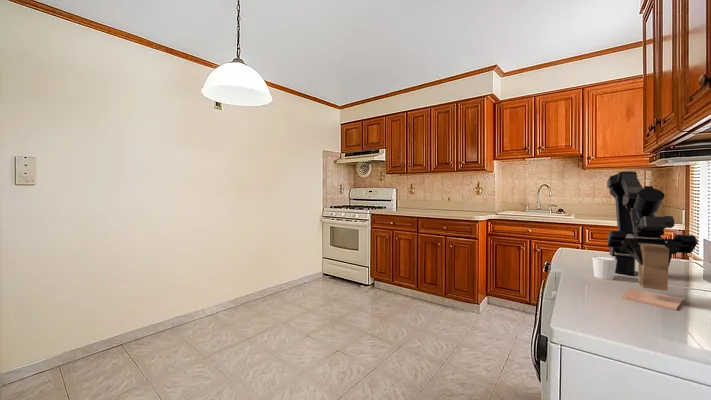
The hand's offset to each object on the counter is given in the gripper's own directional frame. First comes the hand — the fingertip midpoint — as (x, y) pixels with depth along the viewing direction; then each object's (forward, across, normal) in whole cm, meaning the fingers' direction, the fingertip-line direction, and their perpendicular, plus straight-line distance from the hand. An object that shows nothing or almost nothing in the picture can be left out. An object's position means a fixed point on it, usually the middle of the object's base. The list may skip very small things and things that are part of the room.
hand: (654, 265), depth 84 cm
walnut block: (+4, 0, +6) cm, 7 cm away
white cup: (-8, -8, +23) cm, 25 cm away
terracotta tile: (+6, 0, +8) cm, 10 cm away
